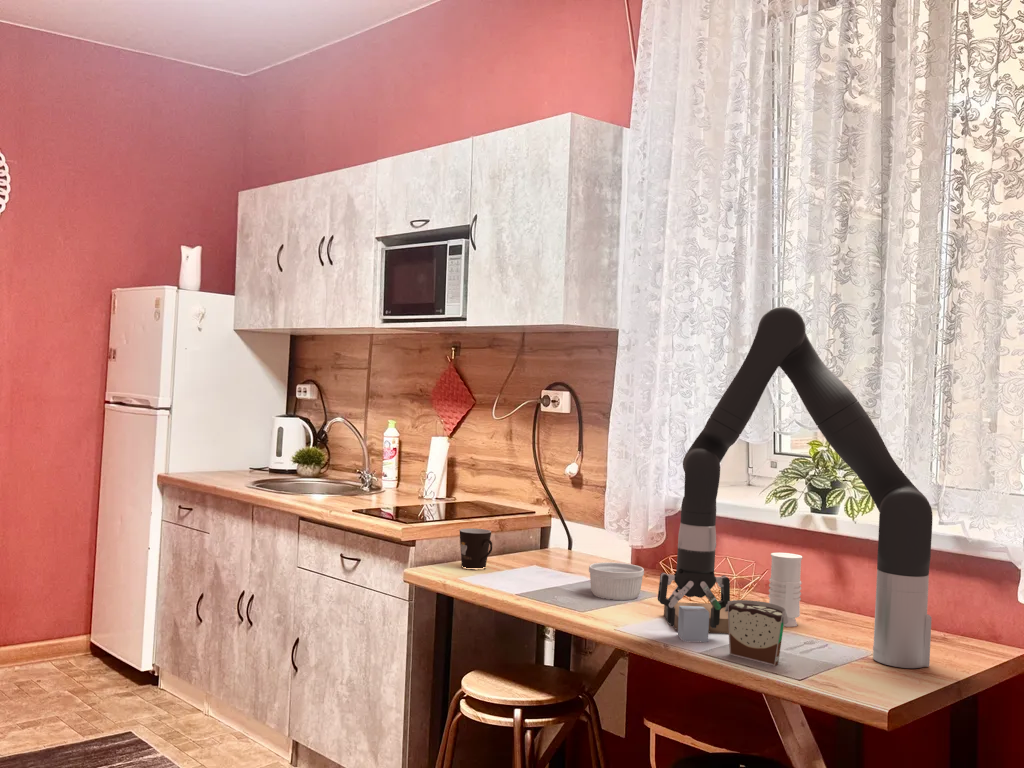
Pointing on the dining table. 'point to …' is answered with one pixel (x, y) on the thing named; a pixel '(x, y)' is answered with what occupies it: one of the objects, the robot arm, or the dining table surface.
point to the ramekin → (616, 580)
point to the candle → (786, 584)
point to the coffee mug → (475, 547)
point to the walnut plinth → (722, 622)
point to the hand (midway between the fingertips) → (692, 626)
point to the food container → (755, 630)
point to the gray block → (693, 623)
